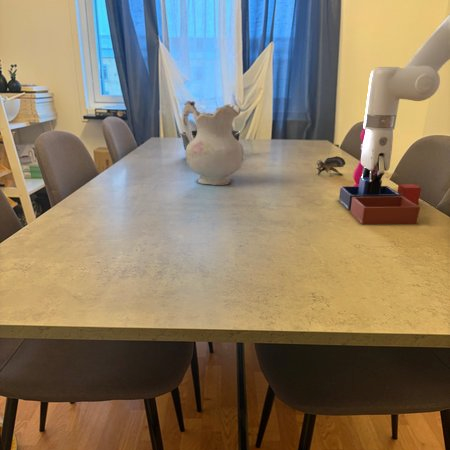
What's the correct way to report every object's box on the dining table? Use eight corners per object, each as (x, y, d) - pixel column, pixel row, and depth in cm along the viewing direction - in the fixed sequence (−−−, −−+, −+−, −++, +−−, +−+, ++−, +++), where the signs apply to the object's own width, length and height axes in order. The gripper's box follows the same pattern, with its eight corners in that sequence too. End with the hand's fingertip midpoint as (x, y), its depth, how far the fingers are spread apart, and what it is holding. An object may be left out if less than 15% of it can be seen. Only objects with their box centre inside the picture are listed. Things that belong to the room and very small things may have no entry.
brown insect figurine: (323, 174, 149) (348, 168, 149) (317, 155, 150) (342, 149, 150) (317, 182, 157) (341, 177, 157) (312, 164, 157) (336, 158, 158)
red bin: (400, 212, 112) (403, 196, 110) (416, 223, 103) (420, 207, 101) (350, 212, 112) (352, 196, 110) (361, 224, 103) (364, 207, 101)
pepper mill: (351, 192, 131) (360, 121, 122) (351, 187, 137) (359, 119, 128) (376, 193, 129) (387, 122, 120) (374, 188, 136) (385, 119, 126)
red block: (411, 199, 123) (414, 184, 121) (417, 204, 119) (421, 187, 117) (395, 200, 123) (398, 184, 121) (401, 204, 119) (404, 187, 117)
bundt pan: (178, 152, 202) (177, 129, 198) (233, 150, 207) (233, 128, 202) (184, 162, 179) (183, 136, 175) (246, 159, 184) (246, 134, 179)
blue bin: (384, 200, 123) (387, 185, 121) (398, 210, 114) (401, 194, 112) (338, 200, 123) (340, 186, 121) (348, 210, 114) (350, 195, 112)
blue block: (373, 193, 119) (376, 177, 117) (379, 197, 115) (382, 180, 113) (357, 193, 119) (360, 177, 117) (362, 197, 115) (365, 180, 113)
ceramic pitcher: (172, 188, 143) (164, 106, 130) (192, 172, 158) (188, 97, 145) (234, 192, 137) (233, 107, 124) (250, 175, 153) (250, 98, 140)
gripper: (407, 126, 101) (393, 203, 109) (382, 119, 116) (372, 187, 124) (375, 126, 101) (364, 203, 109) (355, 119, 116) (346, 188, 124)
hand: (368, 194), depth 117 cm, fingers closed on blue block, 4 cm apart
